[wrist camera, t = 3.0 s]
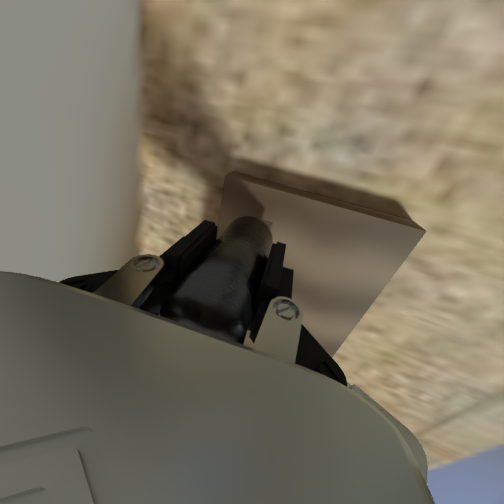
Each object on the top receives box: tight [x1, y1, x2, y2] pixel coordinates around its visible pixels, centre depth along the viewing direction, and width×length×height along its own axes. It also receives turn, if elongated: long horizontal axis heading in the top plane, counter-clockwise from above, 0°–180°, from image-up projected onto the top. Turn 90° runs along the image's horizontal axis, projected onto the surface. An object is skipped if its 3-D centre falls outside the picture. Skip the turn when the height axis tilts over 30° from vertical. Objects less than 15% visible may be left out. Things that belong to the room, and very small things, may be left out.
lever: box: [160, 213, 273, 345], centre depth 17 cm, size 24×4×10 cm, turn 167°
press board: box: [216, 171, 426, 357], centre depth 20 cm, size 27×14×6 cm, turn 167°
